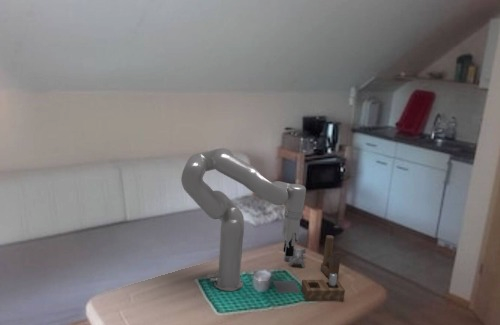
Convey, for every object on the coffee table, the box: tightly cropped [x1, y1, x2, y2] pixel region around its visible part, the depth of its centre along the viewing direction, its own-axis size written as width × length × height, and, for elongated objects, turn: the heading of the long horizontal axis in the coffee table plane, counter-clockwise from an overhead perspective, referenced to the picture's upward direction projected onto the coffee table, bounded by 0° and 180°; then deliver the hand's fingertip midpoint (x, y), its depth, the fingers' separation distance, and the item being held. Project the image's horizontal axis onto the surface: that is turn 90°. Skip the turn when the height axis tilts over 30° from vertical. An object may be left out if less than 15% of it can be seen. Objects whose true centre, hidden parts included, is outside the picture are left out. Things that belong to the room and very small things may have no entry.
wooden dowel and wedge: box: [320, 234, 342, 281], centre depth 205 cm, size 4×11×18 cm, turn 18°
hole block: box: [300, 279, 346, 302], centre depth 188 cm, size 16×9×5 cm, turn 98°
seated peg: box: [328, 273, 337, 288], centre depth 188 cm, size 3×3×10 cm
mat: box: [272, 280, 301, 294], centre depth 193 cm, size 10×10×1 cm
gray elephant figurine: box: [288, 247, 307, 269], centre depth 216 cm, size 9×12×8 cm
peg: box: [283, 242, 292, 263], centre depth 189 cm, size 3×3×10 cm
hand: (288, 253), depth 189 cm, fingers closed on peg, 3 cm apart
